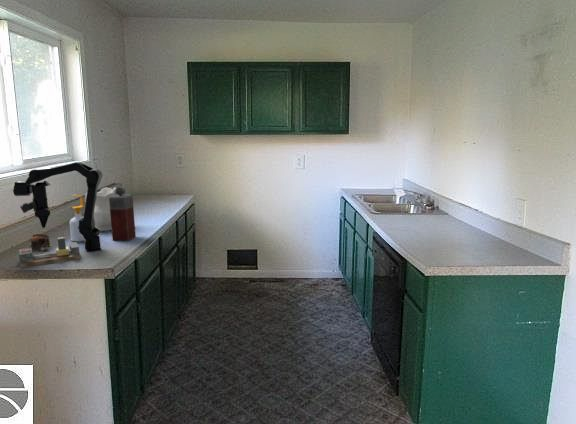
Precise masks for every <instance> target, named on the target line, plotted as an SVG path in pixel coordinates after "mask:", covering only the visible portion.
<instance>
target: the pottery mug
mask: <svg viewBox="0 0 576 424" xmlns="http://www.w3.org/2000/svg"><path fill="white" fill-rule="evenodd" d="M31 236H32V237H31V238H30V239H29V241H30V243H31V244H30V245H29V246H28V247H29V248H32V251H41V250H42V249H41V248H43V249H46V248H47V246H48V247H49V246H50V245H51V242H50V236H49V235H47V234H42V233H35V234H32V235H31Z"/></svg>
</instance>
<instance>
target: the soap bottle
mask: <svg viewBox="0 0 576 424" xmlns="http://www.w3.org/2000/svg"><path fill="white" fill-rule="evenodd" d="M71 195H72V196H75V197H79V199H80V205H78V206H72V207H71V209H74V210H75V212H74V217H73V218H71V219H70V220H69V223H68V224H69V231H70V239H71V241H72V242H78V243H79V242H84V241H85V239H84V237H83V235H82V234H81V233H80V232H79V229H78V227H79V220H80V219H82V218H84V216H83V215H82V211H80V210H81V209H83V208H85V207H84V206H85V204H84V203H85V200H84V197H83V196H81V195H79V194H73V193H72V194H71Z"/></svg>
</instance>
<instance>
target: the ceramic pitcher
mask: <svg viewBox="0 0 576 424" xmlns="http://www.w3.org/2000/svg"><path fill="white" fill-rule="evenodd" d="M117 188H118V187H113V188H111V187H110V188H109V187H103V188H101V189H100V191H97V195H96V202H95V209H94V221H95V227H96V228H97V229H98V230H100V232H105V231H106V232H107V231H112V227H111V216H110V204H109V197H111V196H114V195H116V189H117ZM86 198H87V192H86V193H85V195H84V203H85V204H86Z"/></svg>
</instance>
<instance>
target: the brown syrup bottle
mask: <svg viewBox="0 0 576 424" xmlns="http://www.w3.org/2000/svg"><path fill="white" fill-rule="evenodd" d="M116 188H117V189H116V192H115V195H114V196H111V197H109V204H110V216H111V227H112V230H111V237H112V241H113V242H118V241H119V242H122V241H123V242H130V241H131V240H133V239H135V238H136V236H137V234H136V225H135V224H136V223H135V210H134V201H133V200H134V199H133V198H134V197H133V194H125V193H126V189H125V187H123V186H118V187H116Z"/></svg>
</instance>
